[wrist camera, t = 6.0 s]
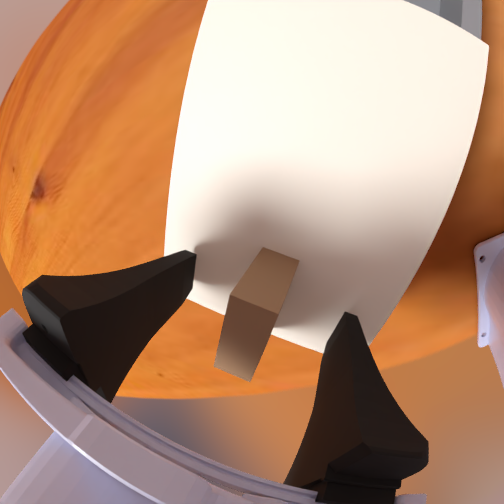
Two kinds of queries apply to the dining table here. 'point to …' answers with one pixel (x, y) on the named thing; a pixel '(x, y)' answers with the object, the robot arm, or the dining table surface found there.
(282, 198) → the lid
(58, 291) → the robot arm
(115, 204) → the dining table surface
